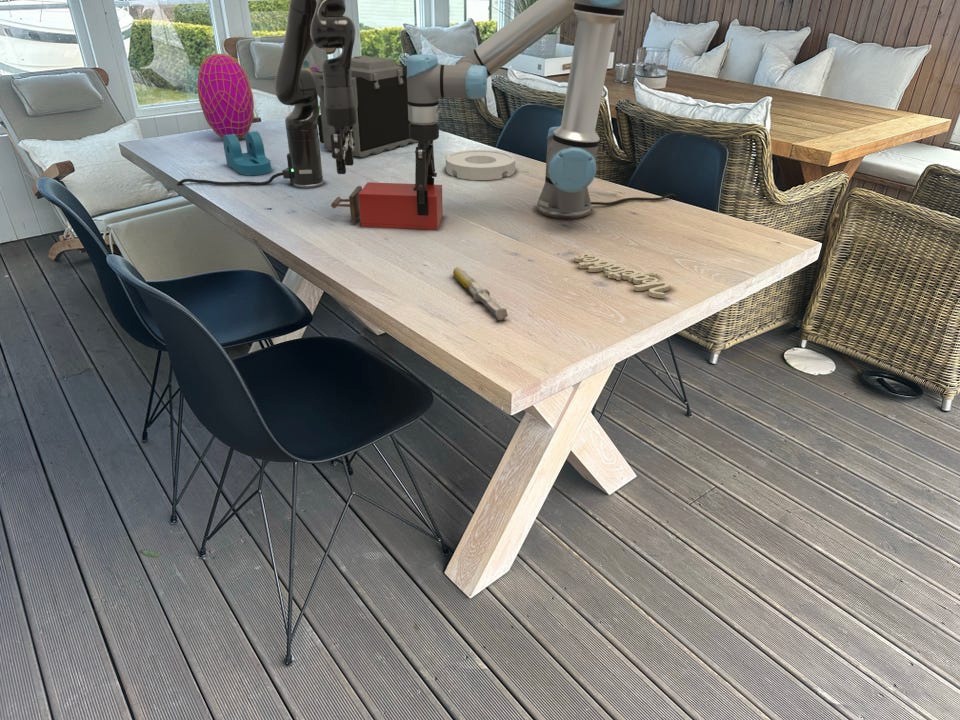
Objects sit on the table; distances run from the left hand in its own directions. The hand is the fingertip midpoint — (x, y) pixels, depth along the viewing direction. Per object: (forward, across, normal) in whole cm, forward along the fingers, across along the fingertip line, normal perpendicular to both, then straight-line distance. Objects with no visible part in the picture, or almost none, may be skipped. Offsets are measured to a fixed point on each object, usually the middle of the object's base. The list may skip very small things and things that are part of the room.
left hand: (345, 169), depth 180 cm
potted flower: (+13, +119, +44) cm, 128 cm away
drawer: (+13, -1, -8) cm, 15 cm away
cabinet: (+14, -1, -15) cm, 20 cm away
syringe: (+14, -47, -38) cm, 62 cm away
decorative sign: (+14, -32, -70) cm, 79 cm away
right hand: (+10, -1, -21) cm, 23 cm away
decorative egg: (+13, +87, +66) cm, 110 cm away
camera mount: (+13, +46, +44) cm, 65 cm away
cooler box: (+13, +82, +11) cm, 84 cm away
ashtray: (+13, +52, -32) cm, 62 cm away
